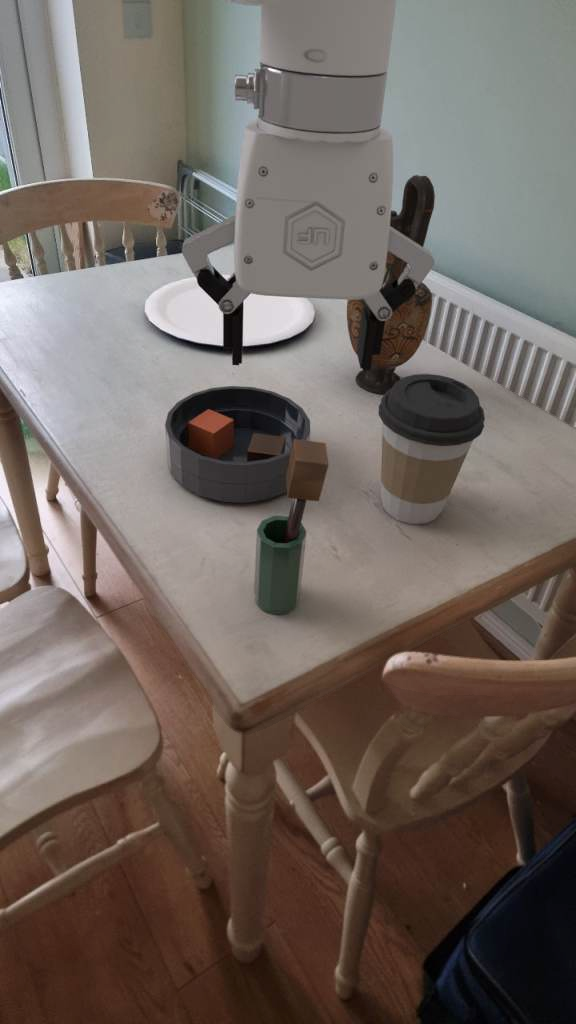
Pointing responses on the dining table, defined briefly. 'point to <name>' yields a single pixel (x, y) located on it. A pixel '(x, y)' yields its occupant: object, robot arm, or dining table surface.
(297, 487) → the wooden cube mallet
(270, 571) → the holder
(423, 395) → the coffee cup
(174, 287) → the plate
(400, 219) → the vase
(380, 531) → the dining table surface
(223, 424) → the terracotta block
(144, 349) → the dining table surface
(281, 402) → the bowl
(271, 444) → the walnut block
